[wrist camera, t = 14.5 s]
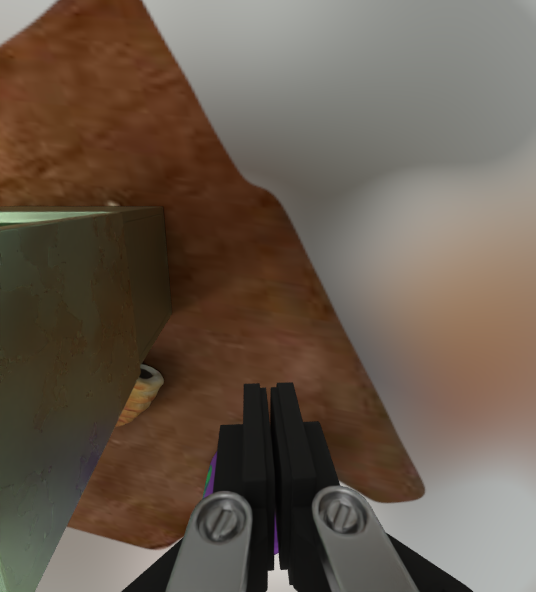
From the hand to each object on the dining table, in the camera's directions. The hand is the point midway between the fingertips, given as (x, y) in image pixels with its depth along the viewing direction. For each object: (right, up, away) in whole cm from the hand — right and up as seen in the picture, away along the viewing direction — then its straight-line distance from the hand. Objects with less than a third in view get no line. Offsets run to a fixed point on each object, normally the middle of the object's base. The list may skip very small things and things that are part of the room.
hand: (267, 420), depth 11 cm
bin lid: (-10, +2, +6) cm, 12 cm away
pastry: (-18, -7, +32) cm, 37 cm away
